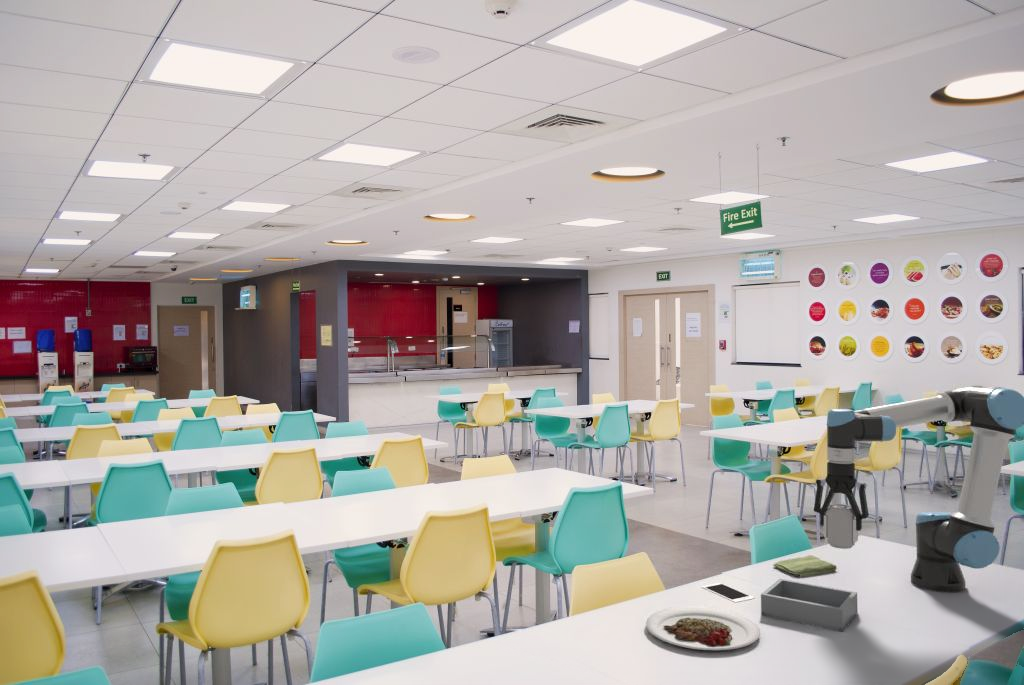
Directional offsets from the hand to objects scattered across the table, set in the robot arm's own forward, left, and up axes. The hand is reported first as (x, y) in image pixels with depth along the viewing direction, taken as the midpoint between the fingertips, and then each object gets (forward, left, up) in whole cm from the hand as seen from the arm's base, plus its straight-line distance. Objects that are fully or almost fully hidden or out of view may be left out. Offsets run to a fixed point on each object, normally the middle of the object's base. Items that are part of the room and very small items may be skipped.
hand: (840, 538), depth 221 cm
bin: (+6, +13, -20) cm, 24 cm away
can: (0, 0, -2) cm, 2 cm away
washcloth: (+19, -29, -20) cm, 40 cm away
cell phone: (+32, +8, -20) cm, 39 cm away
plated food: (+26, +42, -20) cm, 53 cm away
